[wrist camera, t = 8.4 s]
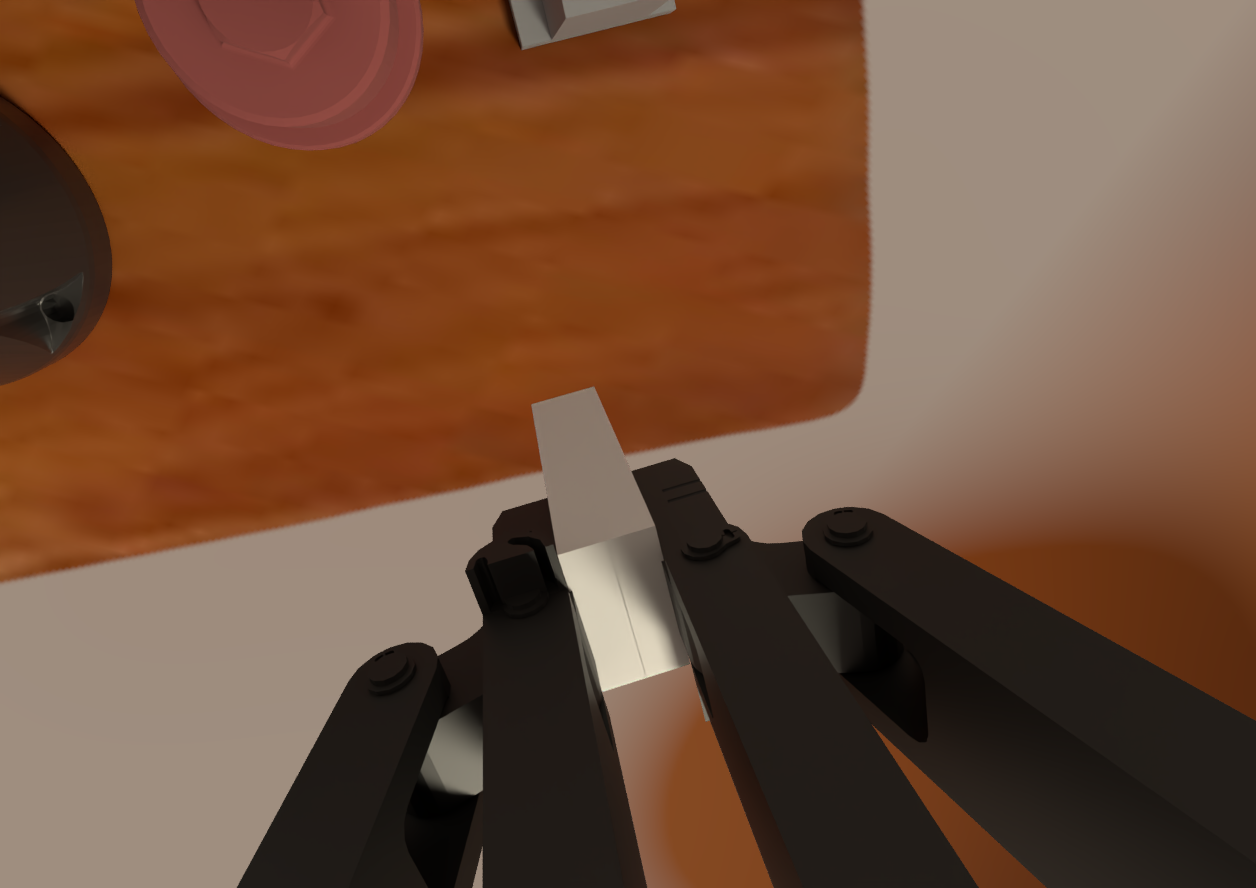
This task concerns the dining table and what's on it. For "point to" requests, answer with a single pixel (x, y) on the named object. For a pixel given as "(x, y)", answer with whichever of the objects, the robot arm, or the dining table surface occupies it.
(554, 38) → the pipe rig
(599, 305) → the dining table surface
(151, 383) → the dining table surface
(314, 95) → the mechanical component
